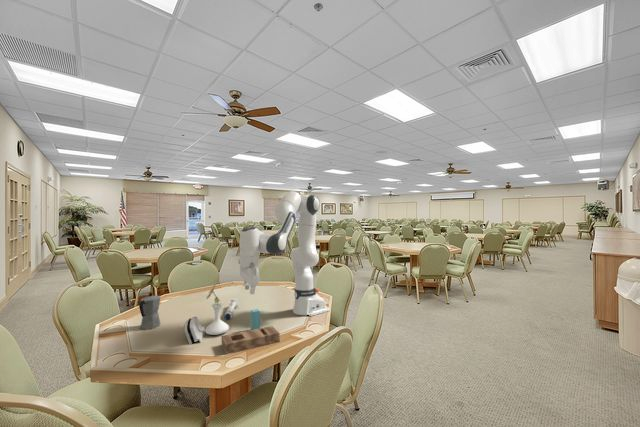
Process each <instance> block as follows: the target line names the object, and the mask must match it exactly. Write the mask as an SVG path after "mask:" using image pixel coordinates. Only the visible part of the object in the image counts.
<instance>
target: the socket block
mask: <svg viewBox="0 0 640 427" xmlns="http://www.w3.org/2000/svg"><path fill="white" fill-rule="evenodd" d="M280 335H281V334H280V332H279V330H277V329H276V328H275V327H274V326H273V325H270V326H266V327H265V326H264V327H260V328H259V329H254V330H251V329H250V330H245V331H240V332H236V333H230V334H225V335H221V348H222V349H223V351H224V353H225V355H228V354H233V353H237V352H242V351H247V350H249V349H250V350H251V349H254V348H255V349H256V348H260V347H264V346H266V345H267V346H268V345H272V344H276V343H280V342H281V340H280Z"/></svg>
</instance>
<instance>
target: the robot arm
mask: <svg viewBox="0 0 640 427" xmlns="http://www.w3.org/2000/svg"><path fill="white" fill-rule="evenodd" d="M274 207H275V208H274V215H275V217H276V219H277V220H278V221H279V222H280V223H281V225H280V227H279V229H278V230H277V231H276V232H275V233H274V232H273V233H267V232H266V233H265V232H263V231H261V230H260V229H258V227H257V226H247V227H244V228H243V229H241V231H240V233H239V249H240V251H239V252H240V253H239V259H238V265H239V272H240V278H241V279H242V280H243V283H244V289H245V290H249V294H250V295H255V293H256V292H255V290H256V287H257V286H259V285H260V271H259V268H258V267H259V265H260V253H262V254H270V255H274V256H279V255H281V254H283V252H284V251H285V250H286V247H287V244H288V240H289V237H290V236H291V233H292V230H293V228H294V225H295V224H296V218H297V216H296V214H297V213H298V214H300V215H299V218H298V225H297V234H296V235H297V240H298V247H295V248H293V249H292V250H291V251H290V259H291V261H292V262H291V263H292V266H293V271H294V285H295V286H294V287H295V288H294V294H293V295H294V305H293V309H292V313H293V314H294V315H297V316H307V315H309V316H308V317H312V316H315V315H320V314H323V313H327V312H329V311H330V308H329V307H328V306H327V305H326V300H324V298H323V297H321V296H320V295H319V294H318V293H319V292H320V289H319V288H315V287H314V274H313V272H312V269H311V268H312V267H315V266H317V264H318V263H319V261H320V260H319V259H320V256H319V254H318V252H317V247H316V246H317V244H316V233H317V232H316V230H317V212H319V209H320V207H321V202H320V198H319V197H318V196H316V195H313V194H300V193H298V192H297V191H294V190H290V191H288V192H287V193H285V194H284V195H283V196H282V197H281V199H280V200H278V203H277V204H276V205H275V206H274Z"/></svg>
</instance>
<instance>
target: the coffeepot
mask: <svg viewBox="0 0 640 427" xmlns="http://www.w3.org/2000/svg"><path fill="white" fill-rule="evenodd" d="M148 295H149V296H144V297H142V298H141V299H140V302H139V305H138V307H139V312H140V316H141V317H142V319H141V324H140V329H141V330H143V329H149V330H154V329H157V328H158V326H159V327H160V325H161V320H160V313H159V308H160V303H161V296H160V295H153V292H149V293H148ZM156 327H157V328H156ZM153 328H154V329H153Z"/></svg>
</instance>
